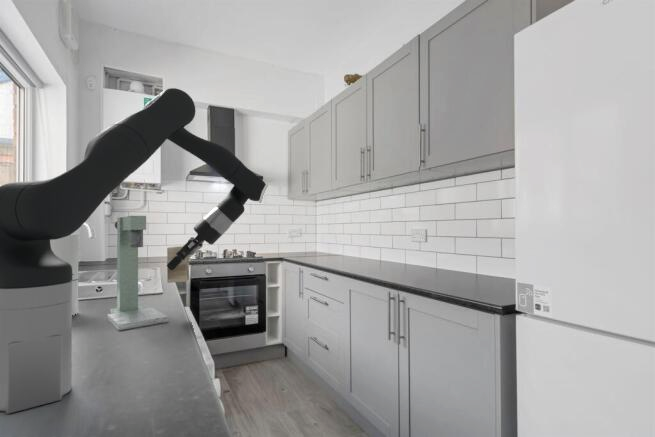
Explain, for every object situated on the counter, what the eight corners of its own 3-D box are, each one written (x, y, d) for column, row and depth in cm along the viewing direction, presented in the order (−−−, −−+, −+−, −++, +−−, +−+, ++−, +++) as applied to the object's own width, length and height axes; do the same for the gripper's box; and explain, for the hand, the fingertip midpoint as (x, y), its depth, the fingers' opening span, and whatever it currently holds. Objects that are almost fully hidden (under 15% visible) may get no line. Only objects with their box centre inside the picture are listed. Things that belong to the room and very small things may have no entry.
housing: (186, 281, 100) (185, 246, 101) (167, 282, 99) (167, 247, 100) (189, 279, 105) (188, 246, 106) (171, 280, 104) (171, 246, 104)
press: (167, 321, 97) (167, 215, 98) (118, 330, 89) (118, 214, 90) (138, 304, 122) (138, 219, 123) (98, 310, 114) (98, 219, 115)
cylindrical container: (44, 316, 107) (45, 235, 108) (70, 311, 113) (71, 234, 114) (56, 318, 104) (57, 235, 104) (82, 313, 110) (83, 234, 111)
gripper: (207, 217, 112) (167, 256, 108) (201, 215, 98) (155, 260, 94) (224, 234, 112) (185, 273, 109) (221, 234, 99) (176, 279, 95)
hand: (171, 267), depth 102 cm, fingers closed on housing, 5 cm apart
